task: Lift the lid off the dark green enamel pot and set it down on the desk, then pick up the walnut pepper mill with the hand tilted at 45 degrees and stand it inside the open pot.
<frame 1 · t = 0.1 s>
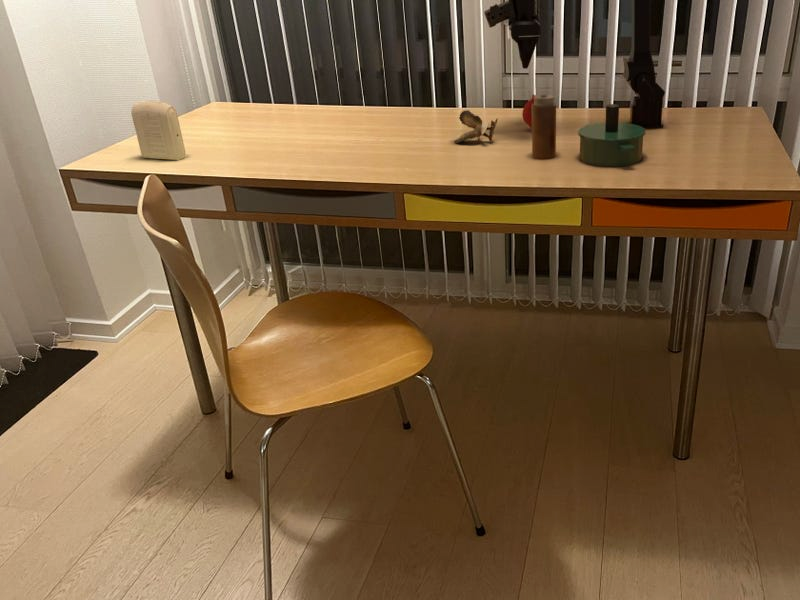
hand: (524, 64, 180), 15 cm above the table, tool pointing down, fingers open, 9 cm apart
photo printer: (164, 158, 180), on the table
pot: (610, 157, 166), on the table
lid: (611, 133, 163), point 5 cm above the table, touching pot
eagle figurine: (475, 142, 181), on the table
onion: (535, 130, 188), on the table
pepper mill: (544, 155, 169), on the table
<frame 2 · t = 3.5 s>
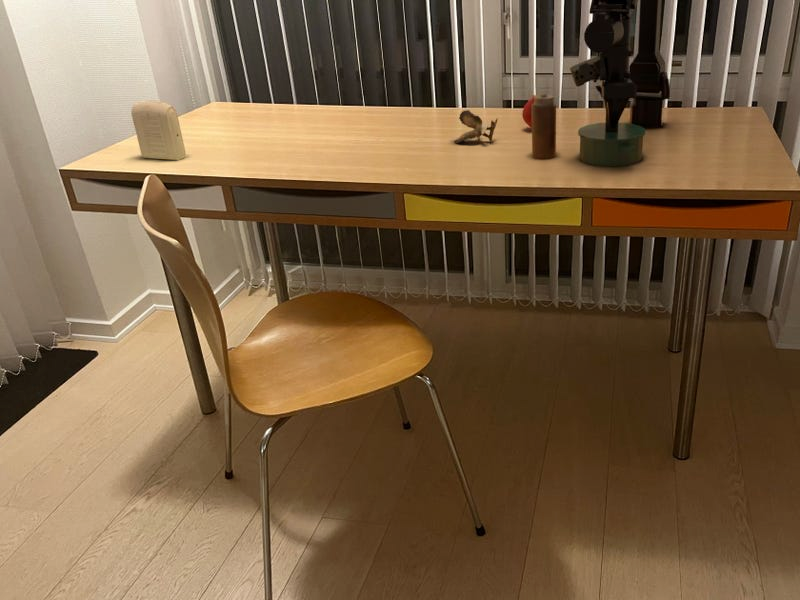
hand: (611, 125, 162), 7 cm above the table, tool pointing down, fingers closed on lid, 2 cm apart
lid: (611, 133, 163), point 5 cm above the table, touching gripper, pot
everything else where it was.
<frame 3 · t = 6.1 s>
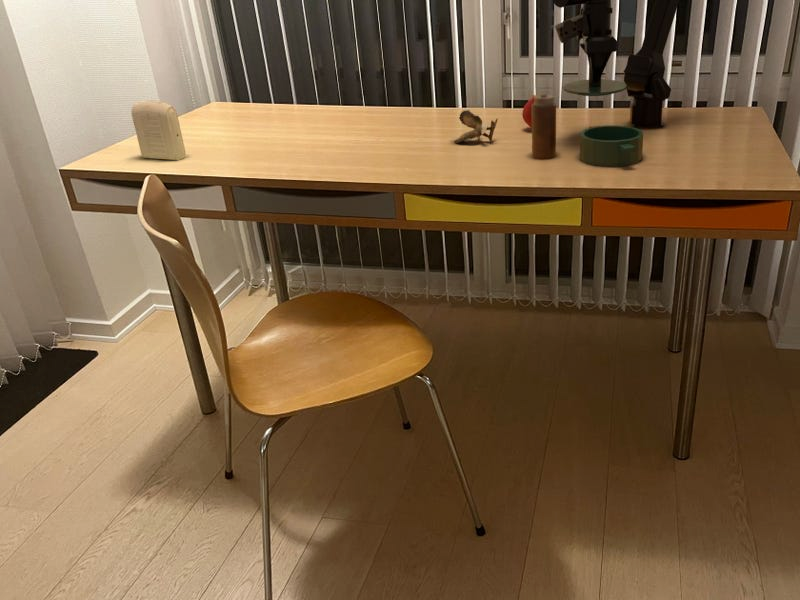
hand: (595, 80, 172), 12 cm above the table, tool pointing down, fingers closed on lid, 3 cm apart
lid: (594, 88, 173), point 11 cm above the table, touching gripper
everything else where it was.
when the fingers open (2 cm above the table, at t = 8.7 s): lid stays where it is, point 1 cm above the table.
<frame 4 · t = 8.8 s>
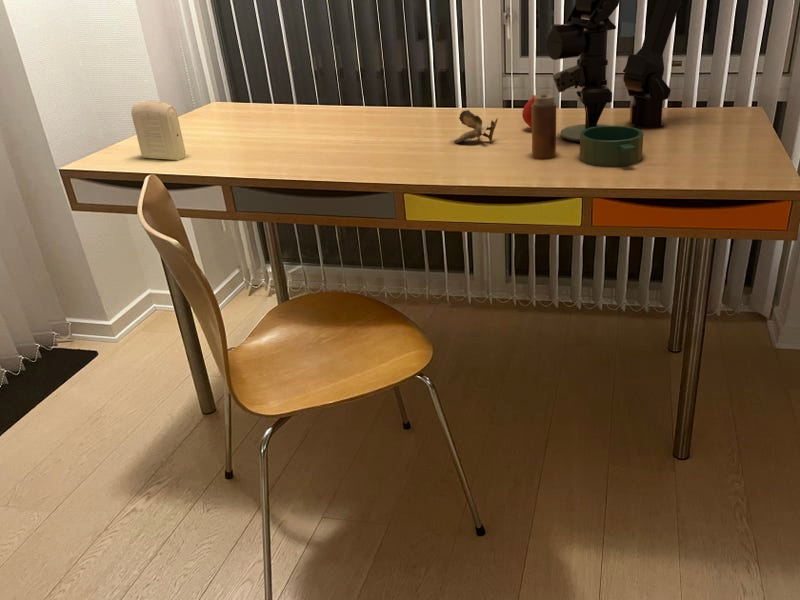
hand: (591, 127, 179), 2 cm above the table, tool pointing down, fingers open, 3 cm apart
lid: (590, 133, 180), point 1 cm above the table
everything else where it was.
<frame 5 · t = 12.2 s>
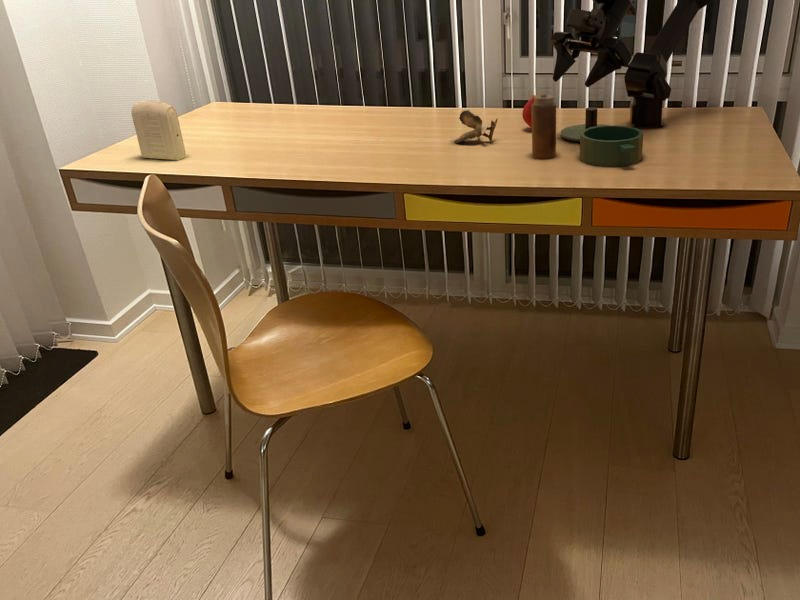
hand: (569, 83, 166), 14 cm above the table, tool tilted 45°, fingers open, 9 cm apart
nothing on the table moved.
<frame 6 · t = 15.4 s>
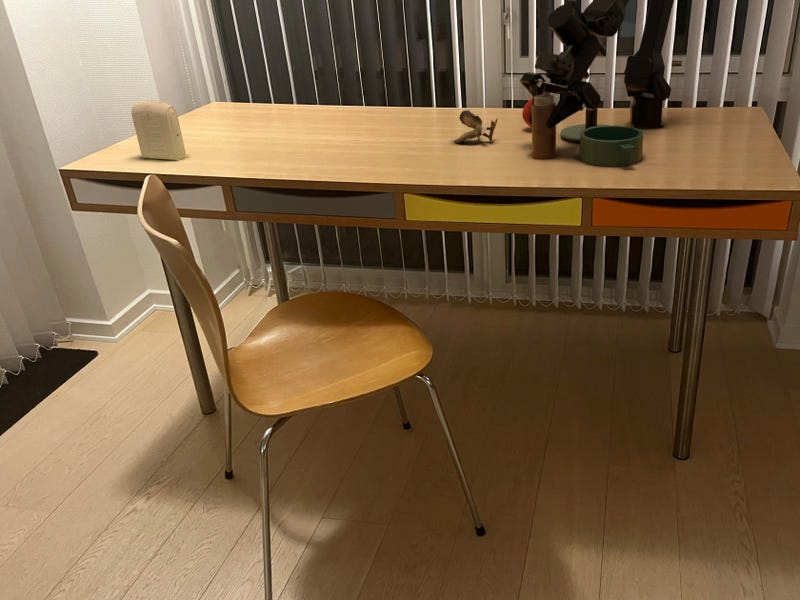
hand: (539, 125, 165), 7 cm above the table, tool tilted 45°, fingers closed on pepper mill, 5 cm apart
pepper mill: (543, 155, 169), on the table, touching gripper
everything else where it was.
when the fingers open (7 cm above the table, at t = 22.0 s): pepper mill stays where it is, resting on pot.
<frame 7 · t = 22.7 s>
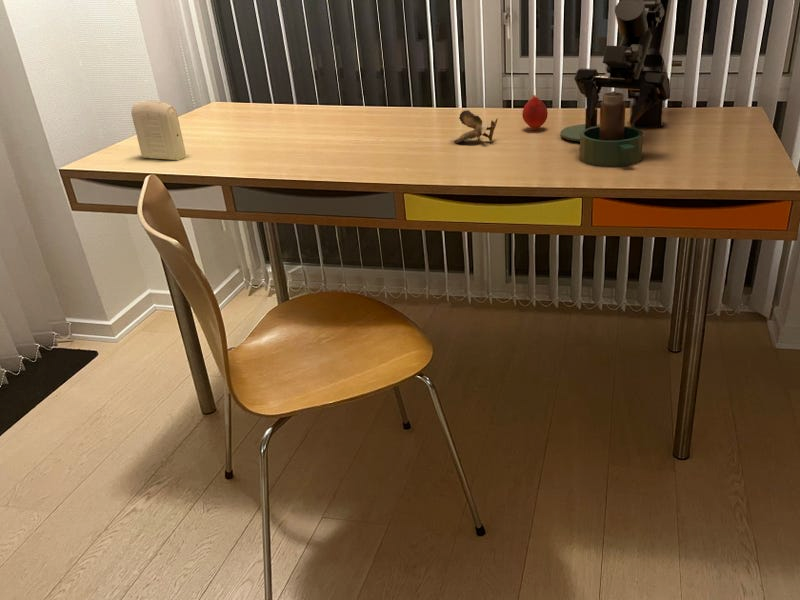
hand: (609, 121, 161), 8 cm above the table, tool tilted 45°, fingers open, 9 cm apart
pepper mill: (610, 154, 165), resting on pot
everything else where it was.
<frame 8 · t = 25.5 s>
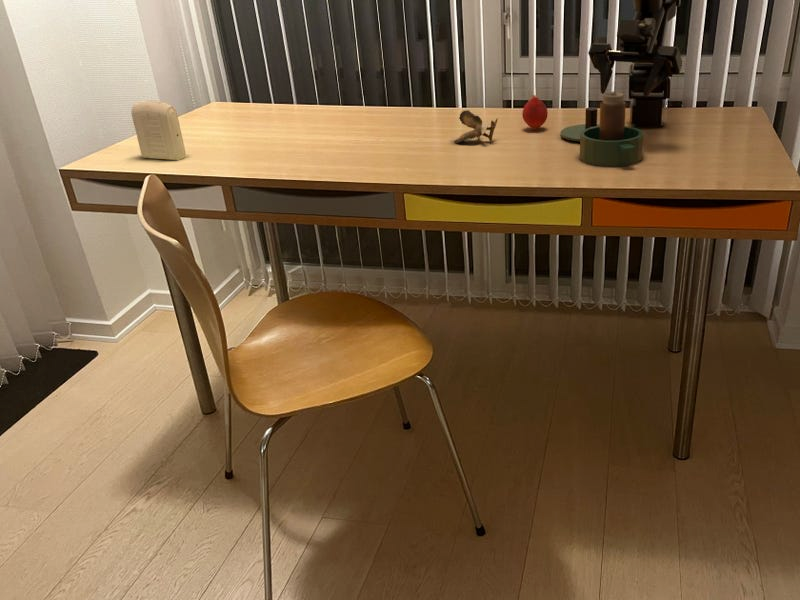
hand: (623, 94, 164), 12 cm above the table, tool tilted 45°, fingers open, 9 cm apart
nothing on the table moved.
at the end: lid point 0.6 cm above the table; pepper mill 0.1 cm off-centre in the pot, point 0.5 cm above the pot's base; the gripper is holding nothing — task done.
